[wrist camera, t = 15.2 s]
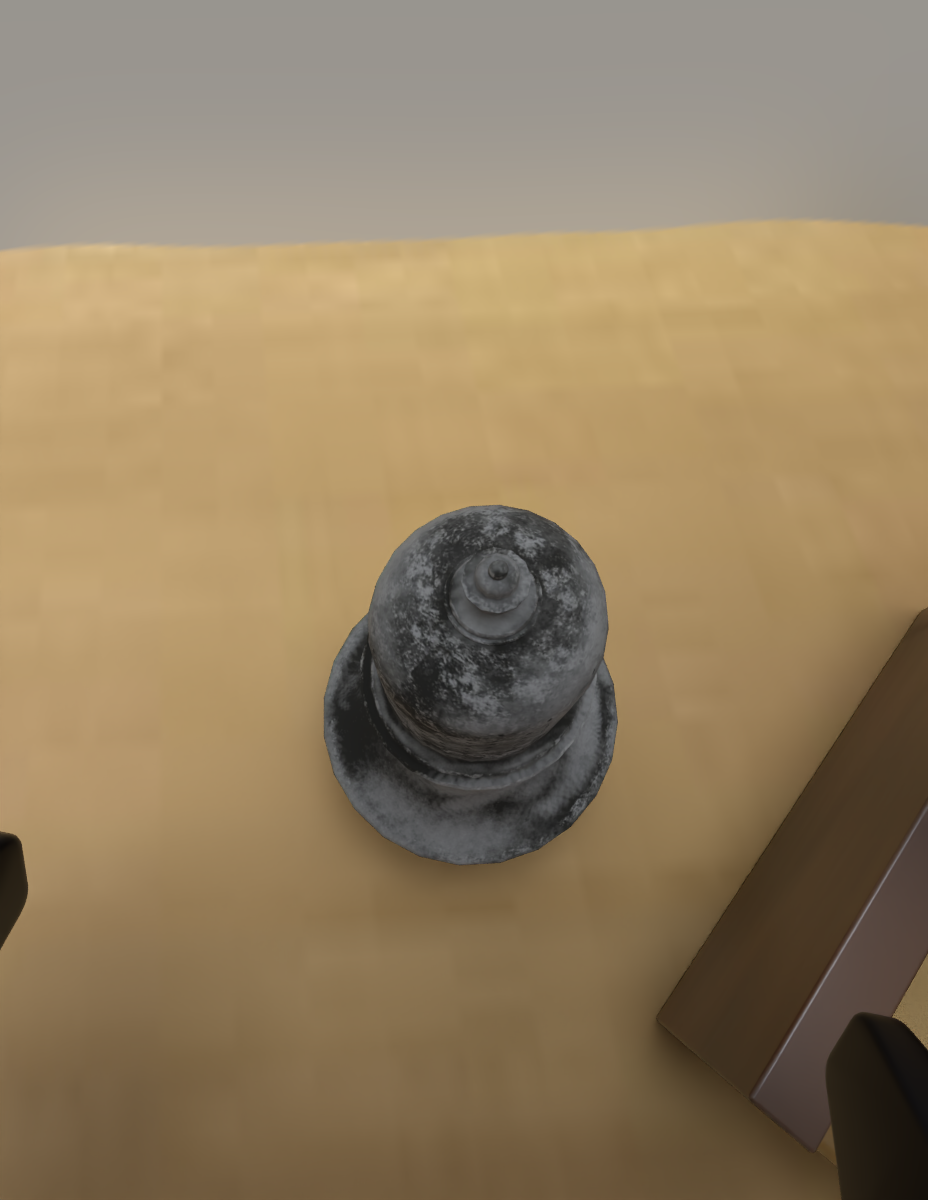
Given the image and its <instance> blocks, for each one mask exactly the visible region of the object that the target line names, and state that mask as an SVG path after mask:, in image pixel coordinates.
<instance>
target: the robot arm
mask: <svg viewBox="0 0 928 1200" xmlns="http://www.w3.org/2000/svg"><path fill="white" fill-rule="evenodd" d="M27 894H28V882H27V876H26V869H25V863H24V856H23V850H22V844H21V841H20V840H19V838H18V837H17V836H16V835H13V834H10V833H5V832H0V949H1V948H2V946H3V944H4V942H5V940H6V939H7V937H8V935H9V933H10V931H11V930H12V928H13V926H14V924H15V922H16V921H17V919H18V917H19V915H20V914H21V912H22V910H23V907H24V905H25V902H26V899H27ZM825 1081H826V1089H827V1096H828V1104H829V1111H830V1118H831V1126H832V1133H833V1140H834V1148H835V1155H836V1162H837V1169H838V1177H839V1184H840V1191H841V1199H842V1200H928V1050H927V1048H926V1047H925V1046H924V1045H923V1044H922V1043H921V1042H920V1040H919V1039H918V1038H917V1037H916V1036H915V1035H914V1033H913V1032H912V1031H911V1030H910V1029H909V1028H908V1027H907V1026H906V1025H905V1024H904V1023H902V1022H901V1021H899V1020H898V1019H895V1018H892V1017H887V1016H883V1015H878V1014H873V1013H868V1012H860V1013H857V1014H855V1015H854V1016H853V1017H852V1019H851V1020H850V1022H849V1023H848V1025H847V1027H846V1028H845V1030H844V1032H843V1033H842V1035H841V1036H840V1038H839V1040H838V1041H837V1043H836V1045H835V1046H834V1048H833V1049H832V1051H831V1053H830V1054H829V1057H828V1059H827V1063H826V1070H825Z"/></svg>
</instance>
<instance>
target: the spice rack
mask: <svg viewBox="0 0 928 1200" xmlns="http://www.w3.org/2000/svg"><path fill="white" fill-rule="evenodd" d="M927 954H928V608H926V609H924V610H922V611H921V612H920V614H919V615H918V617H917V618H916V620H915V622H914V623H913V625H912V626H911V628H910V629H909V630H908V632H907V633H906V635H905V637H904V638H903V640H902V641H901V643H900V644H899V646H898V647H897V649H896V650H895V652H894V653H893V655H892V657H891V658H890V660H889V661H888V663H887V664H886V666H885V667H884V669H883V670H882V672H881V673H880V675H879V676H878V678H877V680H876V681H875V683H874V684H873V686H872V687H871V689H870V690H869V692H868V693H867V695H866V696H865V698H864V700H863V701H862V703H861V704H860V706H859V707H858V709H857V710H856V712H855V713H854V715H853V716H852V718H851V719H850V721H849V723H848V724H847V726H846V727H845V729H844V730H843V732H842V733H841V735H840V736H839V738H838V739H837V741H836V742H835V744H834V746H833V747H832V749H831V750H830V752H829V753H828V755H827V756H826V758H825V759H824V761H823V762H822V764H821V766H820V767H819V769H818V770H817V772H816V773H815V775H814V776H813V778H812V779H811V781H810V782H809V784H808V785H807V787H806V789H805V790H804V792H803V793H802V795H801V796H800V798H799V799H798V801H797V802H796V804H795V805H794V807H793V809H792V810H791V812H790V813H789V815H788V816H787V818H786V819H785V821H784V822H783V824H782V825H781V827H780V828H779V830H778V832H777V833H776V835H775V836H774V838H773V839H772V841H771V842H770V844H769V845H768V847H767V848H766V850H765V852H764V853H763V855H762V856H761V858H760V859H759V861H758V862H757V864H756V865H755V867H754V868H753V870H752V871H751V873H750V875H749V876H748V878H747V879H746V881H745V882H744V884H743V885H742V887H741V888H740V890H739V891H738V893H737V895H736V896H735V898H734V899H733V901H732V902H731V904H730V905H729V907H728V908H727V910H726V911H725V913H724V914H723V916H722V918H721V919H720V921H719V922H718V924H717V925H716V927H715V928H714V930H713V931H712V933H711V934H710V936H709V938H708V939H707V941H706V942H705V944H704V945H703V947H702V948H701V950H700V951H699V953H698V954H697V956H696V957H695V959H694V961H693V962H692V964H691V965H690V967H689V968H688V970H687V971H686V973H685V974H684V976H683V977H682V979H681V981H680V982H679V984H678V985H677V987H676V988H675V990H674V991H673V993H672V994H671V996H670V997H669V999H668V1000H667V1002H666V1004H665V1005H664V1007H663V1008H662V1010H661V1011H660V1013H659V1014H658V1016H657V1021H658V1022H659V1023H660V1024H661V1025H662V1026H664V1027H665V1028H666V1029H667V1030H668V1031H669V1032H671V1033H672V1034H673V1035H674V1036H675V1037H676V1038H677V1039H679V1040H680V1041H681V1042H682V1043H683V1044H684V1045H686V1046H687V1047H688V1048H689V1049H690V1050H691V1051H692V1052H694V1053H695V1054H696V1055H697V1056H698V1057H699V1058H701V1059H702V1060H703V1061H704V1062H705V1063H706V1064H707V1065H709V1066H710V1067H711V1068H712V1069H713V1070H714V1071H716V1072H717V1073H718V1074H719V1075H720V1076H721V1077H722V1078H724V1079H725V1080H726V1081H727V1082H728V1083H729V1084H731V1085H732V1086H733V1087H734V1088H735V1089H736V1090H737V1091H739V1092H740V1093H741V1094H742V1095H743V1096H744V1097H746V1098H747V1099H748V1100H749V1101H750V1102H751V1103H753V1104H754V1105H755V1106H756V1107H757V1108H758V1109H760V1110H761V1111H762V1112H763V1113H764V1114H765V1115H767V1116H768V1117H769V1118H770V1119H771V1120H772V1121H774V1122H775V1123H776V1124H777V1125H778V1126H779V1127H781V1128H782V1129H783V1130H784V1131H785V1132H787V1133H788V1134H789V1135H790V1136H791V1137H792V1138H794V1139H795V1140H796V1141H797V1142H798V1143H799V1144H801V1145H802V1146H803V1147H804V1148H805V1149H806V1150H808V1151H809V1152H812V1153H814V1152H815V1151H816V1150H818V1151H819V1152H820V1153H821V1154H822V1155H823V1156H825V1157H826V1158H827V1159H828V1160H829V1161H830V1162H832V1163H833V1164H834V1165H835V1166H836V1167H837V1162H836V1155H835V1148H834V1140H833V1133H832V1126H831V1118H830V1111H829V1104H828V1096H827V1089H826V1081H825V1070H826V1063H827V1059H828V1057H829V1054H830V1053H831V1051H832V1049H833V1048H834V1046H835V1045H836V1043H837V1041H838V1040H839V1038H840V1036H841V1035H842V1033H843V1032H844V1030H845V1028H846V1027H847V1025H848V1023H849V1022H850V1020H851V1019H852V1017H853V1016H854V1015H855V1014H857V1013H860V1012H868V1013H873V1014H878V1015H883V1016H887V1017H892V1016H893V1014H894V1012H895V1011H896V1009H897V1007H898V1005H899V1003H900V1002H901V1000H902V998H903V996H904V995H905V993H906V991H907V989H908V988H909V986H910V984H911V982H912V980H913V979H914V977H915V975H916V973H917V972H918V970H919V968H920V966H921V965H922V963H923V961H924V959H925V957H926V956H927Z"/></svg>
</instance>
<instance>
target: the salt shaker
mask: <svg viewBox="0 0 928 1200" xmlns="http://www.w3.org/2000/svg"><path fill="white" fill-rule="evenodd" d="M607 634H608V615H607V605H606V595H605V590H604V587H603V585H602V582H601V580H600V577H599V575H598V572H597V569H596V567H595V564H594V563H593V562H592V560H591V559H590V558H589V556H588V555H587V553H586V552H585V551H584V549H583V548H582V547H581V545H580V544H579V543H578V541H577V540H575V539H574V538H573V537H572V536H571V535H569V534H568V533H567V532H566V531H564V530H563V529H562V528H561V527H559V526H558V525H557V524H556V523H554V522H552V521H550V520H548V519H546V518H543V517H541V516H539V515H537V514H535V513H533V512H530V511H528V510H523V509H518V508H512V507H507V506H502V505H489V506H470V507H466V508H463V509H460V510H456V511H453V512H450V513H446V514H443V515H440V516H439V517H437V518H435V519H434V520H432V521H430V522H429V523H427V524H425V525H424V526H422V527H420V528H418V529H417V530H415V531H414V532H413V533H412V534H411V535H410V536H409V537H408V538H407V539H406V540H405V541H404V542H403V543H402V544H401V545H400V546H399V547H398V548H397V549H396V550H395V551H394V553H393V554H392V556H391V558H390V560H389V561H388V563H387V565H386V566H385V568H384V570H383V571H382V573H381V575H380V577H379V579H378V581H377V583H376V586H375V590H374V593H373V597H372V601H371V604H370V608H369V612H368V613H367V614H366V615H365V616H364V617H363V618H362V620H361V621H360V622H359V623H358V624H357V625H356V626H355V627H354V628H353V629H352V630H351V632H350V634H349V636H348V637H347V639H346V641H345V643H344V644H343V646H342V648H341V650H340V651H339V653H338V655H337V657H336V658H335V660H334V663H333V666H332V670H331V674H330V677H329V681H328V685H327V689H326V692H325V696H324V739H325V742H326V746H327V750H328V753H329V757H330V761H331V764H332V768H333V772H334V775H335V777H336V778H337V780H338V782H339V783H340V785H341V787H342V789H343V790H344V792H345V794H346V795H347V797H348V799H349V800H350V802H351V804H352V806H353V807H354V809H355V810H356V811H357V812H358V813H359V814H360V815H361V816H362V817H363V818H364V819H365V820H366V821H367V822H369V823H370V824H371V825H372V826H373V827H374V828H375V829H376V830H377V831H378V832H379V833H380V834H381V835H382V836H383V837H384V838H386V839H388V840H390V841H392V842H394V843H396V844H397V845H399V846H401V847H403V848H405V849H407V850H409V851H410V852H412V853H414V854H416V855H418V856H420V857H425V858H429V859H434V860H438V861H443V862H447V863H452V864H456V865H471V864H488V863H501V862H504V861H507V860H509V859H512V858H515V857H518V856H521V855H524V854H527V853H530V852H532V851H535V850H538V849H540V848H541V847H542V846H544V845H545V844H547V843H548V842H550V841H551V840H552V839H554V838H555V837H557V836H558V835H560V834H561V833H562V832H564V831H565V830H567V829H568V828H570V827H571V826H572V825H573V823H574V822H575V821H576V820H577V819H578V817H579V816H580V815H581V814H582V812H583V811H584V810H585V809H586V808H587V806H588V805H589V804H590V803H591V801H592V800H593V799H594V798H595V797H596V795H597V793H598V790H599V788H600V786H601V784H602V781H603V779H604V777H605V775H606V772H607V770H608V768H609V766H610V763H611V761H612V756H613V750H614V743H615V736H616V730H617V723H618V720H617V711H616V702H615V693H614V684H613V681H612V679H611V676H610V674H609V671H608V668H607V666H606V663H605V661H604V658H603V657H604V651H605V645H606V640H607Z"/></svg>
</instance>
